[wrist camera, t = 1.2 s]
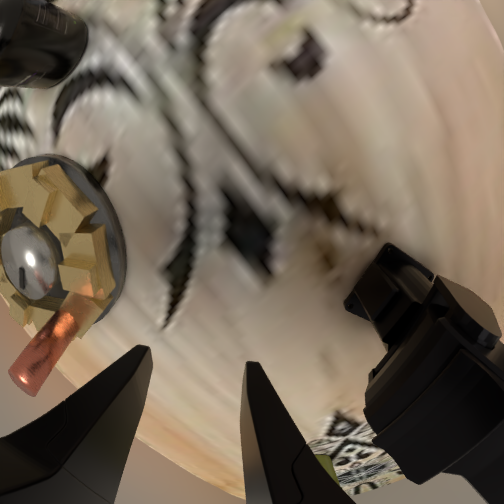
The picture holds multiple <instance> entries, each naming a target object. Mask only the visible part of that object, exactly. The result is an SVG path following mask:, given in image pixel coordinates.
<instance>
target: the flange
mask: <svg viewBox="0 0 504 504" xmlns="http://www.w3.org/2000/svg"><path fill="white" fill-rule="evenodd" d="M46 160H49V166H53V165H57V164H59V165H60V167H61V168H62V169H63V170H64V171H65V172H66V174H67V175H68V176H69V177H70V178H71V179H72V180H73V182H74V183H75V184H76V185H77V186H78V187H79V188H80V189H81V190H82V192H83V193H84V194H85V195H86V196H87V197H88V198H89V199H90V200H91V201H92V202H93V204H94V205H95V206H96V207H97V208H98V211H97V212H96V214H95V215H94V217H93V218H92V220H91V221H90V223H89V224H106V232H107V239H108V245H109V252H110V257H111V263H112V269H113V274H114V279H115V284H116V286H115V288H114V289H113V290H112V291H111V293H110V294H111V295H112V296H113V299H112V300H111V301H110V303H109V304H108V305H107V307H106V308H105V310H104V311H103V312H102V313H101V315H100V316H99V317H98V318H97V319H96V321H95V322H94V323H93V324H95V323H97V322H98V321H100V320H101V319H103V318H104V317H105V315H106V314H107V313H108V312H109V311H110V309H111V308H112V306H113V305H114V304H115V302H116V300H117V299H118V297H119V295H120V293H121V291H122V288H123V284H124V280H125V274H126V251H125V243H124V239H123V234H122V230H121V227H120V224H119V221H118V218H117V215H116V213H115V211H114V209H113V206H112V204H111V202H110V201H109V199H108V197H107V195H106V193H105V192H104V191H103V189H102V188H101V186H100V185H99V183H98V182H97V181H96V180H95V179H94V178H93V177H92V175H91V174H90V173H89V172H88V171H86V170H85V169H84V168H83V167H82V166H80V165H79V164H77V163H76V162H74V161H73V160H70V159H68V158H66V157H63V156H59V155H50V154H46V155H41V156H36V157H32V158H28V159H25V160H23V161H21V162H19V163H18V164H17V165H15V166H14V167H13V168H15V167H19V166H23V165H28V164H32V163H37V162H41V161H46ZM22 211H23V207H18V208H17V210H16V213H15V216H14V218H13V221H12V224H11V227H10V230H9V231H8V232H7V233H6V234H5V235H4V237H3V240H2V245H1V254H2V260H3V264H4V267H5V270H6V272H7V275H8V276H9V278H10V280H11V282H12V283H13V284H14V286H15V287H16V288H17V289H18V290H19V291H20V292H21V293H22V294H23V295H25V296H26V297H28V298H31V299H36V300H37V299H41V298H42V297H44V296H51V297H56V298H62V299H65V298H66V297H67V295H68V293H69V292H70V291H67V290H63V286H62V282H61V277H60V272H59V267H58V264H59V263H60V262H62V261H63V260H64V256H63V252H62V247H61V242H60V241H59V239H58V238H57V237H56V236H55V235H54V234H53V233H52V231H51V230H50V229H49V228H48V227H47V226H46V224H45V225H43V226H42V227H40V228H38V227H37V226H36V225H35V224H34V223H33V222H32V221H31V220H29V219H28V218H27V217H26V216H25V215H24V214H23V213H22ZM93 324H92V325H93Z"/></svg>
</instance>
